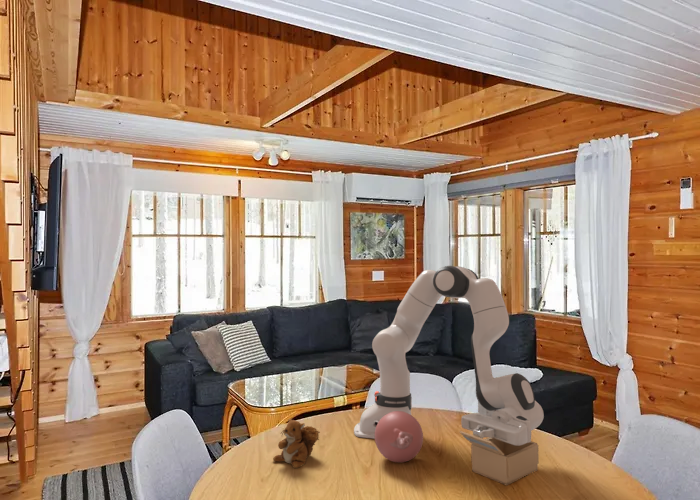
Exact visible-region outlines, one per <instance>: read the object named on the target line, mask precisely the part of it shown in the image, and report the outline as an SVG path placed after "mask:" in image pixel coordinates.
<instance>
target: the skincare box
mask: <svg viewBox="0 0 700 500" xmlns="http://www.w3.org/2000/svg"><path fill="white" fill-rule="evenodd" d="M495 411H497V410H493V411H489V410H487V409H485V408H484V407H483V406H482V405H481V404H480V403H479V402H478V401H477V413H481V414H484V415H488V416H491V415H492V414H493V412H495Z"/></svg>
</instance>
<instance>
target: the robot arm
mask: <svg viewBox="0 0 700 500" xmlns="http://www.w3.org/2000/svg"><path fill="white" fill-rule="evenodd" d="M441 297H446V298H453V299H465V300H466V301H467V302H468V304H469V306H470V309H471V313H472V316H473V323H474V324H473V332H472V334H471V337H470V344H471V345H470V346H471V353H472V361H473V368H474V376H475V397H476V399H477V403H478V402H479V403H480V404H481V405H482V406H483V407H484V408H485V409H487V410H489V411H493V410H496V411H495V412H493V414H492V415H491V416H488V415H484V414H481V413H478V412H473V413H467V414H463V415H462V416H461V427H462V429H465V430H468V431H471V432H472V435H474V436H477V437H480V438H483V439H485V438H489V437H491V438H494V439H497V440H500V441H503V442H506V443H509V444H512V445H516V446H520V445H523V444H526V443H529V442H531V441H532V432H533V430H535V429H537V428H538V427H539V426H540V425H541V424H542V423H543V420H544V417H545V416H544V410H543V408H542V406H541V404H539V403H538V402H537V401H536V397H535V392H534V388H533V386H532V384H531V383H530V381H529V380H528V378H527V377H526V376H524V375H522V374H521V373H517V372H515V373H511V374H505V375H502V376H498V377H494V376H493V372H492V364H491V357H490V353H491V352H490V351H491V348H492V346H493V345H494V343H496V341H498V340H499V339H500V338H501V337H502V336H503V335H504V334H505V333H506V331H507V330H508V327H509V325H510V316H509V312H508V309H507V306H506V303H505V301H504V298H503V295H502V293H501V291H500V289H499V287H498V285H497V283H496V282H495V281H494V280H493V279H491V278H489V277H488V278H487V277H480V278H479V276H478V275H477V274H476V272H475V271H474V270H472V269H469V268H466V267H463V266H459V265H458V266H457V265H456V266H453V265H444V266H442V267H440V268H439V269H437V271H436V270H433V269H425V270H423V271H421V273H420V274H419V275H418V276H417V277H416V279H415V280H414V281H413V282H412V283H411V285H410V287H409V288H408V290H407V292H406V294H405V295H404V297H403V299H402V300H401V302H400V303H399V305H398V307H397V309H396V313H395V316H394V319H393V321H392V322H391V324H390V325H389V326H388V327H387V328H384V329H382V330H380V331H379V332H378V333H377V334H376V335H375V337H374V338H373V339H372V342H371V343H372V344H371V346H372V347H371V348H372V351H373V353H374V355H375V356H376V360H377V364H378V370H379V384H380V385H379V387H380V390H379V391H380V392H379V391H378V390H376V391H375V392H374V394H373V395H374V403H373V404H371V406H369V407H368V408H366V409H365V410H364V411H363V412H362V414H361V415H360V419H359V422H358V423H357V424H355V426H354V428H353V434H354V436H355V437H358V438H364V439H366V438H367V439H373V440H375V429H376V426H377V424H378V422H379V421H380V419H381V418H382V417H383V416H385V415H386V414H388V413H390V412H394V411H402V412H406V413H408V414H410V415H412V406H413V404H412V403H413V401H412V399H413V398H412V393H411V372H410V370H409V369H408V364H407V359H406V353H408V352H409V351H411V349H412V348H413V346H414V345H415V343H416V341H417V338H419V335H420V332H421V331H422V328H423V326H424V324H425V322H426V320H428V318H429V316H430V314H431V313H432V311H433V309H434V308H435V306H436V304H437V303H438V301H439V300H440V299H441Z"/></svg>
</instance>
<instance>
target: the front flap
mask: <svg viewBox="0 0 700 500" xmlns="http://www.w3.org/2000/svg"><path fill="white" fill-rule="evenodd" d="M459 433H460V435H461V436H463V438H465V439H466V440H467V441H468V442H469V443H471V444H473V445H476V446H478V447H481V448H484V449H487V450H489V451H492V452H495V453H498V454H500V455H503V456H504V453H503V452H502V451H501V450H500V449H499V448H498V447H497V446H496V445H494V444H493V443H492V442H491V441H488V440H485V439H486V438H480V437H477V436H474V435H473V434H470V433H468V432H464V431H462V430H459Z"/></svg>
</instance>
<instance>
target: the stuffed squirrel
mask: <svg viewBox="0 0 700 500" xmlns="http://www.w3.org/2000/svg"><path fill="white" fill-rule="evenodd" d="M305 425H306V423H301V422H300V421H298V420H294V419H292V418H289V419H288V422H287V424H286V426H285V428H284V429H283V430H282V431H281V432H280V434H281V436H283V434H284V436H285V438H283V439H281V440H280V441H279V442H278V445H277V446H278V449H280V450H282V451H281V453H280V454H277V455H275V456H273V458H272V460H273V462H274V461H275V462H274V463H280V462H282V461H283V462H285V463H287V464H290V463H291V466H292V468H294V469H299V468H300V467H302V466H304V465H305V464H306V462H307V459H308V457H309V456H311V454H312V452H313V449H314V446H315V445H316V442H317V441H320V439H319V438H320V437H319V435H320V433H321V432H320V431H319V430H317V429H316V427H313V426H312V425H311V426H308V425H307V426H305ZM307 456H308V457H307ZM283 462H282V463H283ZM303 464H304V465H303ZM301 465H302V466H301Z"/></svg>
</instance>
